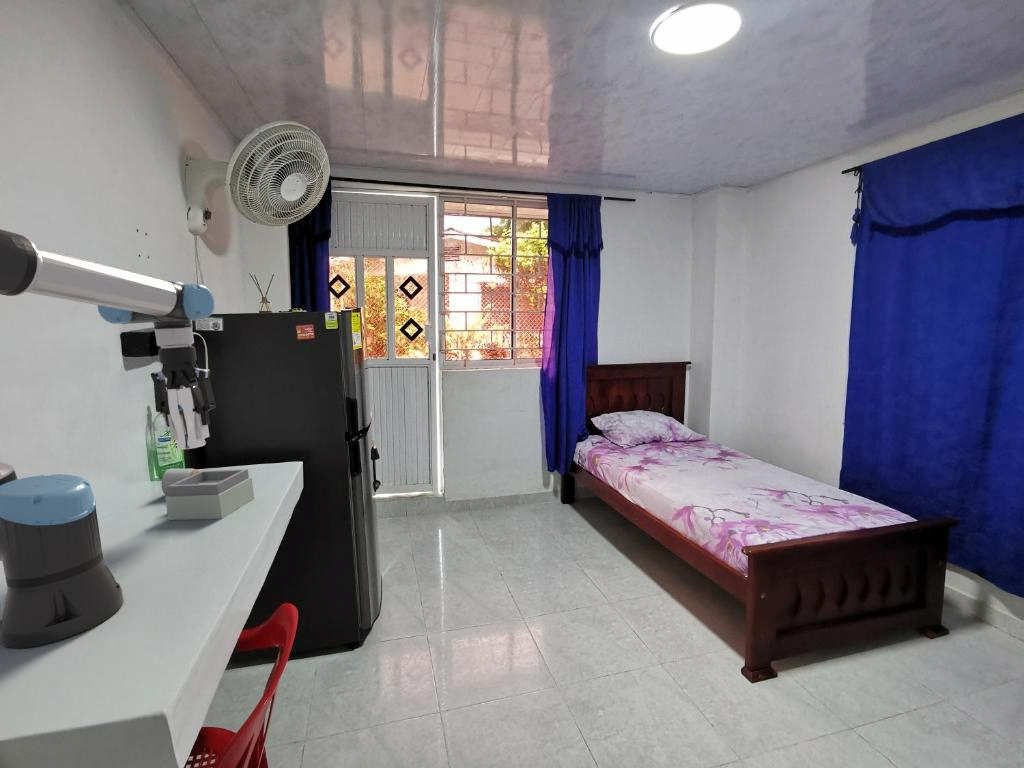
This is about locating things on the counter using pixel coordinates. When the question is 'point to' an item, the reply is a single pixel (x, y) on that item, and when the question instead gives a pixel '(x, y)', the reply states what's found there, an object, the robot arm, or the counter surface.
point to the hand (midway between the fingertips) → (190, 438)
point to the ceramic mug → (175, 477)
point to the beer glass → (184, 417)
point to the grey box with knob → (209, 494)
